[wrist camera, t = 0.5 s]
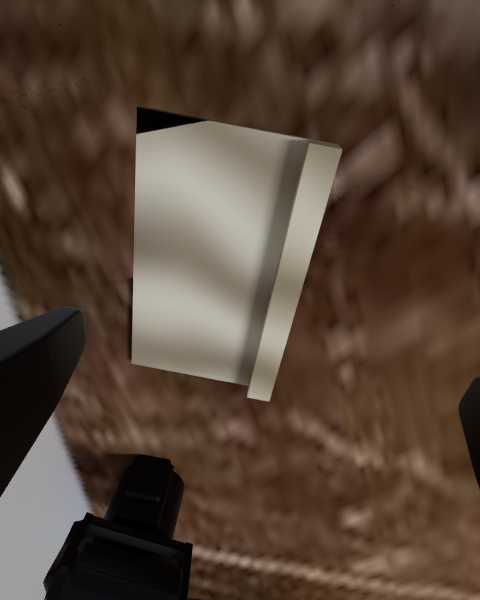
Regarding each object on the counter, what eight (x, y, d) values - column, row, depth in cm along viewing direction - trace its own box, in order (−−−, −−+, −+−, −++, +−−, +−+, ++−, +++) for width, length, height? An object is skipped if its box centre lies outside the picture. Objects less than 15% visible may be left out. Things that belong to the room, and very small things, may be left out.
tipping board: (269, 385, 26) (269, 401, 25) (133, 359, 26) (126, 374, 25) (338, 144, 18) (342, 149, 17) (139, 105, 18) (128, 108, 17)
